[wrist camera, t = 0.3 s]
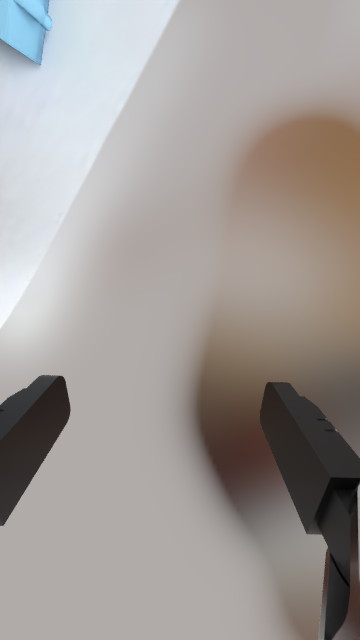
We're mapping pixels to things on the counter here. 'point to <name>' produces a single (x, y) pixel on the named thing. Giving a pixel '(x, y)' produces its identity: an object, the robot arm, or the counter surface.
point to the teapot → (25, 26)
